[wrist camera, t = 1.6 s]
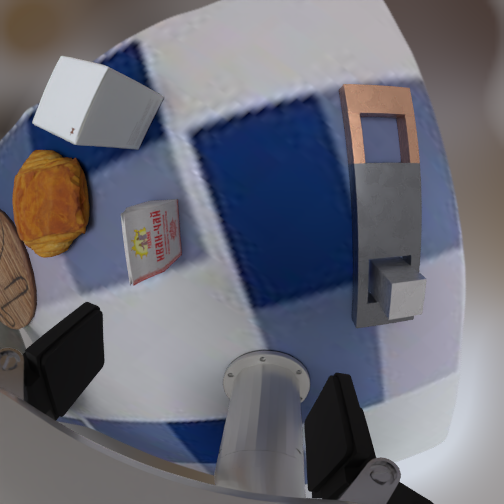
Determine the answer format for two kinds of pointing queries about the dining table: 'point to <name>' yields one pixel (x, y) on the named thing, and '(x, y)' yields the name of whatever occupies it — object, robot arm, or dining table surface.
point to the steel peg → (396, 287)
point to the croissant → (50, 202)
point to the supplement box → (96, 105)
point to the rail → (381, 192)
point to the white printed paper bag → (151, 238)
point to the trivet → (15, 277)
